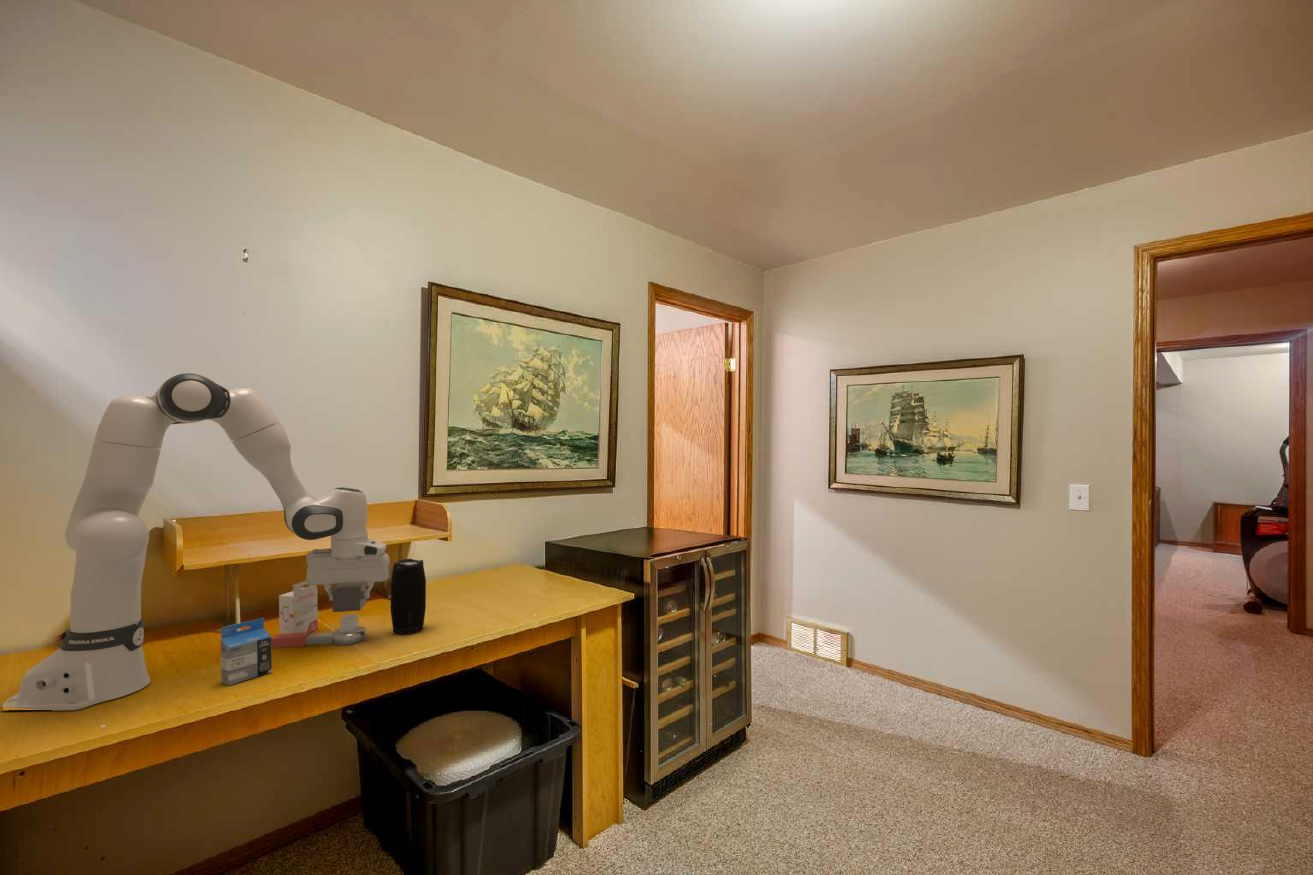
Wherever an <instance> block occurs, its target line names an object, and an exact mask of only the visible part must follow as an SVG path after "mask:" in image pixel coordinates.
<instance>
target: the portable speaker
mask: <svg viewBox="0 0 1313 875" xmlns="http://www.w3.org/2000/svg"><path fill="white" fill-rule="evenodd" d="M426 602H427V578H426V573H425V567H424V559H420V560H418V559H413V558H403V559H399V560H398V561H396V562H394V563H393V566H392V570H391V580H390V616H391V623H392V625H391V626H392V631H393V633H396V632H399V633H400V634H401V635H402V636H405V635H413V634H416V633H417V632H418V630H421V629H423V628H424V625H425V618H426V616H425V615H426V607H427V603H426Z"/></svg>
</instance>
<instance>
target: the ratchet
mask: <svg viewBox="0 0 1313 875" xmlns="http://www.w3.org/2000/svg"><path fill="white" fill-rule="evenodd" d="M358 617H359V614H358V613H350V614H348V613H347V614H343V615H342V616H341V617H340V622H339V623H340V628H337V629H335V630H334V631H332V632H318V633H317V632H316V633H311V632H304V633H289V634H280V633H279V634H275V635H273V636H272V637H271V649H280V648H292V647H293V648H294V646H295V647H305V646H304V645H306V646H315V644H318V645H329V644H330V643H331V644H332V645H334V646H338V647H340V646H341V647H342V646H344V647H345V646H353V645H356V643H357V644H359V643H362V642H364V641H365V640H366V638H367V637H366V636H367V628H366V627H364V626H362V625H361V626H360V625H359V624H358V622H359V618H358ZM358 625H359V626H358Z"/></svg>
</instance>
